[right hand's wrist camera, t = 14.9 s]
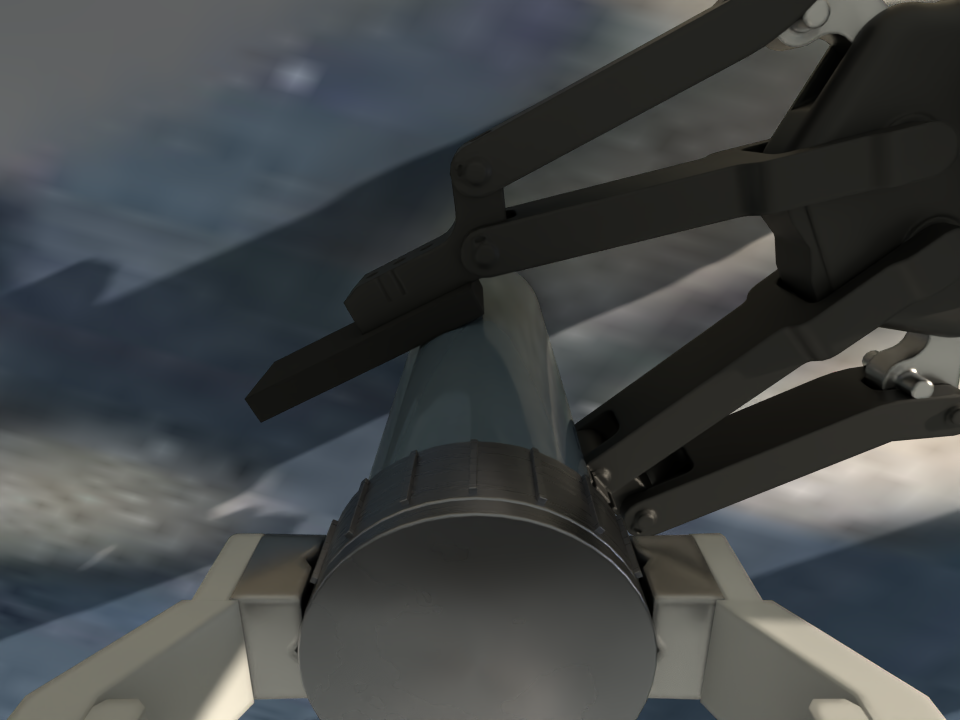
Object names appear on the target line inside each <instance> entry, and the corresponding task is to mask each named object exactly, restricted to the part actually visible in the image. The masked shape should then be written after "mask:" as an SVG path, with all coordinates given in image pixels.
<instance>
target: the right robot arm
mask: <svg viewBox="0 0 960 720" xmlns="http://www.w3.org/2000/svg"><path fill="white" fill-rule="evenodd" d="M629 538H630V541H631V544H632V547H633V550H634V553H635V555H636V558H637V561H638V564H639V567H640V570H641V573H642V577H640V578H638V579H639V582H640V585H641V588H642V591H643V594H644V596H645V599H646V602H647V605H648V608H649V611H650V615H651V618H652V621H653V624H654V627H655V633H656V640H657V666H656V671H655V676H654V681H653V685H652V688H651V691H650V693H649V696H648V698H668V699H701V701H700V702H701V703H702V704H703V705H704V706H705V707H706V708H707V710H708V711H709V712H710V713H711V714H712V715H713V716H714V717H715V718H716V719H717V720H946V719H945V718H944V716H943V715H942V714H941V713H940V711H939V710H938V709H937V707H936V706H935V705H934V703H933V702H932V701H931V700H930V698H929V697H928V696H926V695H924V694H923V693H921V692H920V691H918V690H916V689H915V688H913V687H912V686H910V685H908V684H907V683H905V682H903V681H902V680H900V679H899V678H897V677H895V676H894V675H892V674H891V673H889V672H887V671H886V670H884V669H882V668H881V667H879V666H878V665H876V664H874V663H873V662H871V661H869V660H868V659H866V658H865V657H863V656H861V655H860V654H858V653H857V652H855V651H853V650H852V649H850V648H848V647H847V646H845V645H844V644H842V643H840V642H839V641H837V640H836V639H834V638H832V637H831V636H829V635H827V634H826V633H824V632H823V631H821V630H819V629H818V628H816V627H814V626H813V625H811V624H810V623H808V622H806V621H805V620H803V619H802V618H800V617H798V616H797V615H795V614H793V613H792V612H790V611H789V610H787V609H785V608H784V607H782V606H781V605H779V604H777V603H776V602H774V601H772V600H762V598H761V597H760V595H759V593H758V592H757V590H756V588H755V586H754V585H753V583H752V581H751V580H750V578H749V576H748V575H747V573H746V571H745V570H744V568H743V566H742V565H741V563H740V561H739V560H738V558H737V556H736V555H735V553H734V551H733V550H732V548H731V546H730V545H729V543H728V541H727V540H726V538H725V536H723V535H722V534H720V533H710V534H689V535H644V536H629ZM325 539H326V535H304V534H266V535H265V534H234V535H233V536H231V537H230V538H229V539H228V540H227V542H226V544H225V545H224V547H223V549H222V550H221V552H220V554H219V555H218V557H217V559H216V560H215V562H214V564H213V565H212V567H211V569H210V570H209V572H208V574H207V575H206V577H205V579H204V580H203V582H202V584H201V585H200V587H199V589H198V590H197V592H196V594H195V595H194V597H193V599H192V600H182V601H180V602H179V603H177V604H175V605H174V606H172V607H170V608H169V609H167V610H165V611H164V612H162V613H161V614H159V615H157V616H156V617H154V618H152V619H151V620H149V621H147V622H146V623H144V624H143V625H141V626H139V627H138V628H136V629H134V630H133V631H131V632H129V633H128V634H126V635H125V636H123V637H121V638H120V639H118V640H116V641H115V642H113V643H111V644H110V645H108V646H107V647H105V648H103V649H102V650H100V651H98V652H97V653H95V654H93V655H92V656H90V657H89V658H87V659H85V660H84V661H82V662H80V663H79V664H77V665H75V666H74V667H72V668H71V669H69V670H67V671H66V672H64V673H62V674H61V675H59V676H57V677H56V678H54V679H53V680H51V681H49V682H48V683H46V684H44V685H43V686H41V687H39V688H38V689H36V690H35V691H33V692H31V693H30V694H28V695H26V696H25V697H24V699H23V700H22V701H21V702H20V704H19V705H18V706H17V707H16V709H15V710H14V711H13V713H12V714H11V715H10V716H9V718H8V719H7V720H238V719H239V718H240V717H241V716H242V715H243V714H244V713H245V711H246V710H247V709H248V708H249V707H250V706H251V705H252V704H253V703H254V699H286V698H308V697H307V694H306V692H305V689H304V687H303V684H302V679H301V675H300V670H299V665H298V640H299V631H300V626H301V623H302V620H303V616H304V613H305V610H306V607H307V604H308V601H309V598H310V596H311V593H312V590H313V587H314V585H315V584H313V583H311V582H310V579H311V576H312V574H313V571H314V568H315V566H316V563H317V560H318V558H319V555H320V552H321V549H322V547H323V544H324V541H325Z"/></svg>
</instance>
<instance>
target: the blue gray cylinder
mask: <svg viewBox="0 0 960 720" xmlns="http://www.w3.org/2000/svg"><path fill="white" fill-rule="evenodd" d="M479 281H480V283H481V285H482V287H483V297H484V313H485V314H484V315H482V316H480V317H478V318H476V319H474V320H472V321H470V322H468V323H466V324H464V325H462V326H459V327H457V328H455V329H453V330H451V331H449V332H447V333H444V334H442V335H440V336H438V337H436V338H435V339H433V340H431V341H428V342H426V343H424V344H422V345H420V346H418V347H416V348H414V349H412V350H410V351H409V354H408V357H407V360H406V363H405V367H404V370H403V373H402V376H401V379H400V382H399V385H398V388H397V391H396V395H395V398H394V401H393V404H392V407H391V410H390V413H389V416H388V420H387V423H386V426H385V429H384V432H383V435H382V438H381V441H380V445H379V448H378V451H377V454H376V457H375V460H374V463H373V466H372V469H371V473H370V476H369V479H368V480H370V479H371V478H373V477H374V476H375V475H376V474H377V473H379V472H380V471H382V470H383V469H385V468H386V467H388V466H390V465H391V464H393V463H395V462H396V461H398V460H400V459H403V458H405V457H407V456H409V455H410V452H411V451H414V450H417V451H418V452H419V451H422V450H426V449H429V448H432V447H435V446H441V445H446V444H452V443H459V442H470V440H471V439H477V440H478V441H479V442H498V443H504V444H510V445H515V446H520V447H523V448H527V449H530V450H531V449H532V447H533V448H536V449H538V450H539V452H540V453H542V454H544V455H546V456H549V457H551V458H553V459H556V460H558V461H559V462H561V463H563V464H564V465H566V466H568V467H569V468H571V469H573V470H574V471H576V472H577V473H578V474H580V475H581V476H583V475H584V474H586V475H587V476H588V477H589V478H590V476H589V473H588V469H587V466H586V463H585V459H584V456H583V452H582V449H581V445H580V442H579V439H578V435H577V432H576V428H575V425H574V421H573V418H572V415H571V411H570V408H569V404H568V401H567V397H566V394H565V391H564V387H563V384H562V380H561V377H560V374H559V370H558V367H557V363H556V360H555V356H554V353H553V350H552V346H551V343H550V339H549V336H548V332H547V329H546V326H545V322H544V319H543V315H542V312H541V308H540V305H539V302H538V299H537V296H536V294H535V292H534V291H533V289H532V287H531V286H530V285H529V283H528V282H527V281H526V280H525V279H524V278H523V277H522V276H521V275H520V274H518V273H517V272H512V273H508V274H504V275H500V276H496V277H492V278H481V279H479ZM590 481H591V480H590ZM591 484H592V483H591Z"/></svg>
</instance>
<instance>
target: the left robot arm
mask: <svg viewBox="0 0 960 720" xmlns="http://www.w3.org/2000/svg"><path fill="white" fill-rule="evenodd" d="M818 38H819V39H822V40H825V41H826V42H827V43H829V44H830V46H829V48H828V50H827V51H826V53H825V54H824V56H823V57H822V59H821V61H820V62H819V64H818V65H817V67H816V68H815V70H814V72H813V73H812V75H811V76H810V78H809V79H808V81H807V83H806V84H805V86H804V87H803V89H802V90H801V92H800V94H799V95H798V97H797V98H796V100H795V101H794V103H793V105H792V106H791V108H790V109H789V111H788V112H787V114H786V116H785V117H784V119H783V120H782V122H781V123H780V125H779V127H778V128H777V130H776V131H775V133H774V134H773V136H772V138H771V139H768V140H764V141H760V142H756V143H752V144H748V145H744V146H740V147H736V148H732V149H728V150H724V151H720V152H717V153H713V154H710V155H708V156H707V157H705V158H702V159H699V160H695V161H691V162H687V163H683V164H679V165H675V166H671V167H667V168H663V169H659V170H655V171H651V172H647V173H643V174H639V175H635V176H631V177H627V178H623V179H620V180H616V181H612V182H608V183H604V184H600V185H596V186H592V187H588V188H584V189H580V190H576V191H572V192H568V193H564V194H560V195H556V196H552V197H548V198H544V199H540V200H536V201H532V202H528V203H524V204H520V205H516V206H512V207H508V208H505V200H504V191H503V187H505V186H507V185H509V184H510V183H512V182H514V181H516V180H518V179H520V178H522V177H523V176H525V175H527V174H529V173H531V172H533V171H535V170H537V169H538V168H540V167H542V166H544V165H546V164H548V163H550V162H552V161H553V160H555V159H557V158H559V157H561V156H563V155H565V154H566V153H568V152H570V151H572V150H574V149H576V148H578V147H580V146H581V145H583V144H585V143H587V142H589V141H591V140H593V139H594V138H596V137H598V136H600V135H602V134H604V133H606V132H608V131H609V130H611V129H613V128H615V127H617V126H619V125H621V124H622V123H624V122H626V121H628V120H630V119H632V118H634V117H636V116H637V115H639V114H641V113H643V112H645V111H647V110H649V109H651V108H652V107H654V106H656V105H658V104H660V103H662V102H664V101H665V100H667V99H669V98H671V97H673V96H675V95H677V94H679V93H680V92H682V91H684V90H686V89H688V88H690V87H692V86H693V85H695V84H697V83H699V82H701V81H703V80H705V79H707V78H708V77H710V76H712V75H714V74H716V73H718V72H720V71H721V70H723V69H725V68H727V67H729V66H731V65H733V64H735V63H736V62H738V61H740V60H742V59H744V58H746V57H748V56H749V55H751V54H753V53H754V52H756V51H758V50H759V49H761V48H763V47H764V46H766V47H768V48H769V49H772V50H774V51H784V50H789V49H794V48H799V47H802V46H806V45H808V44H810V43H812V42H813V41H815V40H816V39H818ZM450 176H451V179H452V187H453V195H454V203H455V211H456V219H455V222H454V223H453V225H452V227H451V228H450V229H449V230H448V231H447V232H446V233H445V234H443V235H442V236H440V237H438V238H436V239H434V240H432V241H430V242H428V243H426V244H425V245H423V246H421V247H419V248H417V249H415V250H413V251H411V252H409V253H407V254H405V255H403V256H401V257H399V258H398V259H395V260H393V261H391V262H389V263H387V264H385V265H384V266H381V267H379V268H377V269H375V270H373V271H372V272H370V273H368V274H366V275H365V276H364V277H363V278H362V279H361V280H360V282H359V283H358V284H357V285H356V286H355V287H354V289H353V290H352V291H351V293H350V294H349V296H348V297H347V299H346V300H345V302H344V304H345V306H346V308H347V310H348V311H349V313H350V315H351V316H352V318H353V320H354V321H355V322H354V323H352V324H350V325H348V326H346V327H344V328H342V329H340V330H338V331H336V332H334V333H332V334H330V335H328V336H326V337H324V338H322V339H320V340H318V341H316V342H314V343H312V344H310V345H308V346H306V347H304V348H302V349H300V350H298V351H296V352H294V353H292V354H290V355H288V356H286V357H284V358H282V359H280V360H278V361H276V362H274V363H273V365H272V366H271V367H270V368H269V370H268V371H267V372H266V373H265V374H264V376H263V377H262V378H261V379H260V381H259V382H258V383H257V384H256V386H255V387H254V388H253V389H252V391H251V392H250V393H249V394H248V396H247V397H246V398H245V400H246V402H247V403H248V405H249V406H250V408H251V409H252V410H253V412H254V413H255V415H256V416H257V418H258V419H259V421H260V422H263V421H265V420H267V419H269V418H272V417H274V416H276V415H278V414H280V413H282V412H284V411H286V410H288V409H290V408H292V407H294V406H296V405H298V404H300V403H303V402H305V401H307V400H309V399H311V398H313V397H315V396H317V395H319V394H321V393H323V392H325V391H327V390H329V389H331V388H333V387H336V386H338V385H340V384H342V383H344V382H346V381H348V380H350V379H352V378H354V377H356V376H358V375H360V374H362V373H364V372H367V371H369V370H371V369H373V368H375V367H377V366H379V365H381V364H383V363H385V362H387V361H389V360H391V359H393V358H395V357H398V356H400V355H402V354H404V353H406V352H408V351H410V350H412V349H414V348H416V347H418V346H420V345H422V344H424V343H426V342H428V341H431V340H433V339H435V338H436V337H438V336H440V335H442V334H444V333H447V332H449V331H451V330H453V329H455V328H457V327H459V326H462V325H464V324H466V323H468V322H470V321H472V320H474V319H476V318H478V317H480V316H482V315H484V314H485V313H484V297H483V287H482V285H481V283H480V281H479V279H481V278H492V277H496V276H500V275H504V274H508V273H512V272H517V271H521V270H525V269H529V268H533V267H537V266H541V265H545V264H549V263H553V262H557V261H562V260H566V259H570V258H574V257H578V256H582V255H586V254H590V253H594V252H598V251H603V250H607V249H611V248H615V247H619V246H623V245H627V244H631V243H635V242H639V241H644V240H648V239H652V238H656V237H660V236H664V235H668V234H672V233H676V232H680V231H684V230H689V229H693V228H697V227H701V226H705V225H709V224H713V223H717V222H721V221H725V220H730V219H734V218H738V217H743V216H762V218H763V219H764V221H765V222H766V223H767V225H768V226H769V228H770V229H771V230H772V232H773V233H774V236H775V253H776V265H777V268H778V269H777V270H776V271H775V272H773V273H772V274H770V275H769V276H768V277H766V278H765V279H763V280H762V281H761V282H759V283H758V284H757V285H755V286H754V287H753V288H752V289H751V290H750V292H749V293H748V296H747V299H746V301H745V302H744V303H743V304H742V305H740V306H739V307H738V308H736V309H735V310H733V311H732V312H731V313H729V314H728V315H726V316H725V317H724V318H722V319H721V320H720V321H718V322H717V323H715V324H714V325H713V326H711V327H710V328H708V329H707V330H706V331H704V332H703V333H701V334H700V335H699V336H697V337H696V338H694V339H693V340H692V341H690V342H689V343H688V344H686V345H685V346H683V347H682V348H681V349H679V350H678V351H676V352H675V353H674V354H672V355H671V356H669V357H668V358H667V359H665V360H664V361H662V362H661V363H660V364H658V365H657V366H655V367H654V368H653V369H651V370H650V371H649V372H647V373H646V374H644V375H643V376H642V377H640V378H639V379H637V380H636V381H635V382H633V383H632V384H630V385H629V386H628V387H626V388H625V389H623V390H622V391H621V392H619V393H618V394H617V395H615V396H614V397H612V398H611V399H610V400H608V401H607V402H605V403H604V404H603V405H601V406H600V407H598V408H597V409H596V410H594V411H593V412H591V413H590V414H589V415H587V416H586V417H584V418H583V419H582V420H580V421H579V422H578V423H576V424H575V428H576V432H577V435H578V439H579V442H580V445H581V449H582V452H583V456H584V459H585V463H586V466H587V469H588V473H589V476H590V480H591V483H592V485H593V487H594V488H595V489H596V490H597V491H598V492H599V493H600V494H601V495H602V496H603V497H604V499H605V500H606V502H607V503H608V504H609V506H610V507H611V509H612V510H613V512H614V513H615V514H616V515H619V514H620V515H621V516H622V518H623V521H624V524H625V527H626V529H627V531H628V532H629V533H630V534H632V535H634V536H644V535H656V534H659V533H661V532H664V531H666V530H669V529H671V528H674V527H676V526H679V525H681V524H684V523H686V522H689V521H691V520H694V519H697V518H699V517H702V516H704V515H707V514H709V513H712V512H714V511H717V510H719V509H722V508H724V507H727V506H729V505H732V504H734V503H737V502H740V501H742V500H745V499H747V498H750V497H752V496H755V495H757V494H760V493H762V492H765V491H767V490H770V489H772V488H775V487H777V486H780V485H783V484H785V483H788V482H790V481H793V480H795V479H798V478H800V477H803V476H805V475H808V474H810V473H813V472H815V471H818V470H820V469H823V468H825V467H828V466H831V465H833V464H836V463H838V462H841V461H843V460H846V459H848V458H851V457H853V456H856V455H858V454H861V453H863V452H866V451H868V450H871V449H874V448H876V447H879V446H881V445H884V444H886V443H889V442H891V441H901V440H911V439H922V438H933V437H944V436H954V435H958V434H960V389H958V385H959V379H960V0H940V1H938V2H936V3H921V2H907V3H901V4H897V5H894V6H891V7H888V6H887V5H886V4H885V2H884V1H883V0H718V1H717V2H716V3H715V4H714V5H713V6H712V7H711V8H709V9H707V10H705V11H703V12H701V13H700V14H698V15H696V16H694V17H692V18H691V19H689V20H687V21H685V22H683V23H682V24H680V25H678V26H676V27H674V28H673V29H671V30H669V31H667V32H665V33H663V34H662V35H660V36H658V37H656V38H654V39H653V40H651V41H649V42H647V43H645V44H644V45H642V46H640V47H638V48H636V49H635V50H633V51H631V52H629V53H627V54H625V55H624V56H622V57H620V58H618V59H616V60H615V61H613V62H611V63H609V64H607V65H606V66H604V67H602V68H600V69H598V70H597V71H595V72H593V73H591V74H589V75H587V76H586V77H584V78H582V79H580V80H578V81H577V82H575V83H573V84H571V85H569V86H568V87H566V88H564V89H562V90H560V91H559V92H557V93H555V94H553V95H551V96H549V97H548V98H546V99H544V100H542V101H540V102H539V103H537V104H535V105H533V106H531V107H530V108H528V109H526V110H524V111H522V112H520V113H519V114H517V115H515V116H513V117H511V118H510V119H508V120H506V121H504V122H502V123H501V124H499V125H497V126H495V127H493V128H492V129H490V130H488V131H486V132H484V133H482V134H481V135H479V136H477V137H475V138H473V139H472V140H470V141H468V142H466V143H465V144H463V145H462V146H461V147H460V148H459V149H458V150H457V152H456V153H455V155H454V157H453V160H452V162H451V168H450ZM878 327H881V328H888V329H894V330H900V331H907V333H906V335H905V337H904V338H903V339H902V340H901V341H900V342H899V343H898V344H897V345H895V346H893V347H891V348H888V349H885V350H882V351H880V352H879V351H876V350H875V351H870V352H868V353H866V355H865V356H864V357H863V360H862V364H863V366H862V367H856V368H849V369H845V370H841V371H837V372H833V373H830V374H828V375H825V376H822V377H819V378H817V379H814V380H812V381H809V382H807V383H805V384H802V385H800V386H797V387H795V388H793V389H790V390H788V391H785V392H783V393H781V394H778V395H776V396H773V397H771V398H769V399H766V400H764V401H761V402H759V403H757V404H754V405H752V406H749V407H747V408H745V409H742V410H740V411H737V412H735V413H732V412H734V411H735V410H736V409H738V408H739V407H741V406H742V405H744V404H745V403H747V402H748V401H750V400H751V399H753V398H754V397H756V396H757V395H759V394H760V393H761V392H763V391H764V390H766V389H767V388H769V387H770V386H772V385H773V384H775V383H776V382H778V381H779V380H781V379H782V378H784V377H785V376H787V375H788V374H789V373H791V372H792V371H794V370H795V369H797V368H798V367H800V366H801V365H803V364H805V363H807V362H810V361H823V360H826V359H830V358H832V357H834V356H836V355H838V354H839V353H841V352H842V351H844V350H845V349H847V348H848V347H850V346H851V345H852V344H854V343H855V342H857V341H858V340H860V339H861V338H863V337H864V336H866V335H867V334H869V333H870V332H872V331H873V330H875V329H876V328H878ZM731 413H732V414H731ZM729 414H730V415H729Z"/></svg>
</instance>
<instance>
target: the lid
mask: <svg viewBox="0 0 960 720" xmlns="http://www.w3.org/2000/svg"><path fill="white" fill-rule="evenodd" d="M640 577H642V573H641V570H640V567H639V564H638V561H637V558H636V555H635V553H634V550H633V547H632V544H631V541H630V538H629V535H628V532H627V529H626V527H625V524H624V521H623V518H622V516H621V515H620V514H619V515H617V516H615V514H614V512H613V510H612V509H611V507H610V506H609V504H608V503H607V502H606V500H605V499H604V497H603V496H602V495H601V494H600V493H599V492H598V491H597V490H596V489H595V488H594V487H593V485H592V484H591V481H590V478H589V477H588V476H587V475H586V474H584V475H583V476H581V475H580V474H578V473H577V472H576V471H574V470H573V469H571V468H569V467H568V466H566V465H564V464H563V463H561V462H559V461H558V460H556V459H553V458H551V457H549V456H546V455H544V454H542V453H540V452H539V450H538V449H536V448H533V447H532V449H531V450H530V449H527V448H523V447H520V446H515V445H510V444H504V443H498V442H479V441H478V440H477V439H471V440H470V442H459V443H452V444H446V445H441V446H435V447H432V448H429V449H426V450H422V451H419V452H418V451H417V450H414V451H411V452H410V455H409V456H407V457H405V458H403V459H400V460H398V461H396V462H395V463H393V464H391V465H390V466H388V467H386V468H385V469H383V470H382V471H380V472H379V473H377V474H376V475H375V476H374V477H373V478H371V479H370V480H368V479H367V478H365V479H364V480H363V481H362V482H361V485H360V488H359V491H358V492H357V493H356V494H355V495H354V496H353V497H352V499H351V500H350V502H349V503H348V505H347V506H346V507H345V509H344V510H343V512H342V514H341V516H340V518H339V520H338V521H336V520H333V521H332V523H331V525H330V528H329V531H328V533H327V536H326V539H325V541H324V544H323V547H322V549H321V552H320V555H319V558H318V560H317V563H316V566H315V568H314V571H313V574H312V576H311V579H310V582H311V583H313V584H315V585H314V587H313V590H312V593H311V596H310V598H309V601H308V604H307V607H306V610H305V613H304V616H303V620H302V623H301V626H300V631H299V640H298V665H299V670H300V675H301V679H302V684H303V687H304V689H305V692H306V694H307V697H308V699H309V702H310V704H311V705H312V707H313V709H314V711H315V712H316V714H317V716H318V717H319V719H320V720H636V719H637V717H638V716H639V714H640V712H641V710H642V708H643V707H644V705H645V703H646V701H647V699H648V696H649V693H650V691H651V688H652V685H653V681H654V676H655V671H656V666H657V640H656V633H655V627H654V624H653V621H652V618H651V615H650V611H649V608H648V605H647V602H646V599H645V596H644V594H643V591H642V588H641V585H640V582H639V579H638V578H640Z"/></svg>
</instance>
